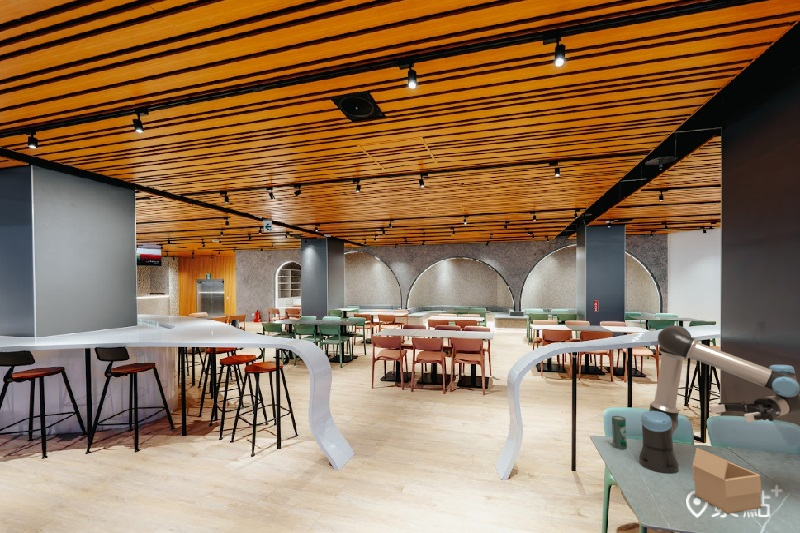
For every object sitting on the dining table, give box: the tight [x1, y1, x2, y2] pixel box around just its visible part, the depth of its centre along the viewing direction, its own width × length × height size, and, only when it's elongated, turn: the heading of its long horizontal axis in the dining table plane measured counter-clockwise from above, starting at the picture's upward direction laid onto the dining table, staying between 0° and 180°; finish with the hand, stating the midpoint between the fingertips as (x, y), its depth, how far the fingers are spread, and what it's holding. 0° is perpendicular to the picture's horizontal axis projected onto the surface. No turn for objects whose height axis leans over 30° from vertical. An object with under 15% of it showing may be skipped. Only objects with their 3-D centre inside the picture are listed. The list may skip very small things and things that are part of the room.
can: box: [611, 415, 628, 451], centre depth 198 cm, size 6×6×15 cm
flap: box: [692, 447, 729, 480], centre depth 146 cm, size 7×12×1 cm
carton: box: [691, 461, 762, 514], centre depth 147 cm, size 16×13×12 cm
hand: (727, 413), depth 152 cm, fingers open, 13 cm apart
